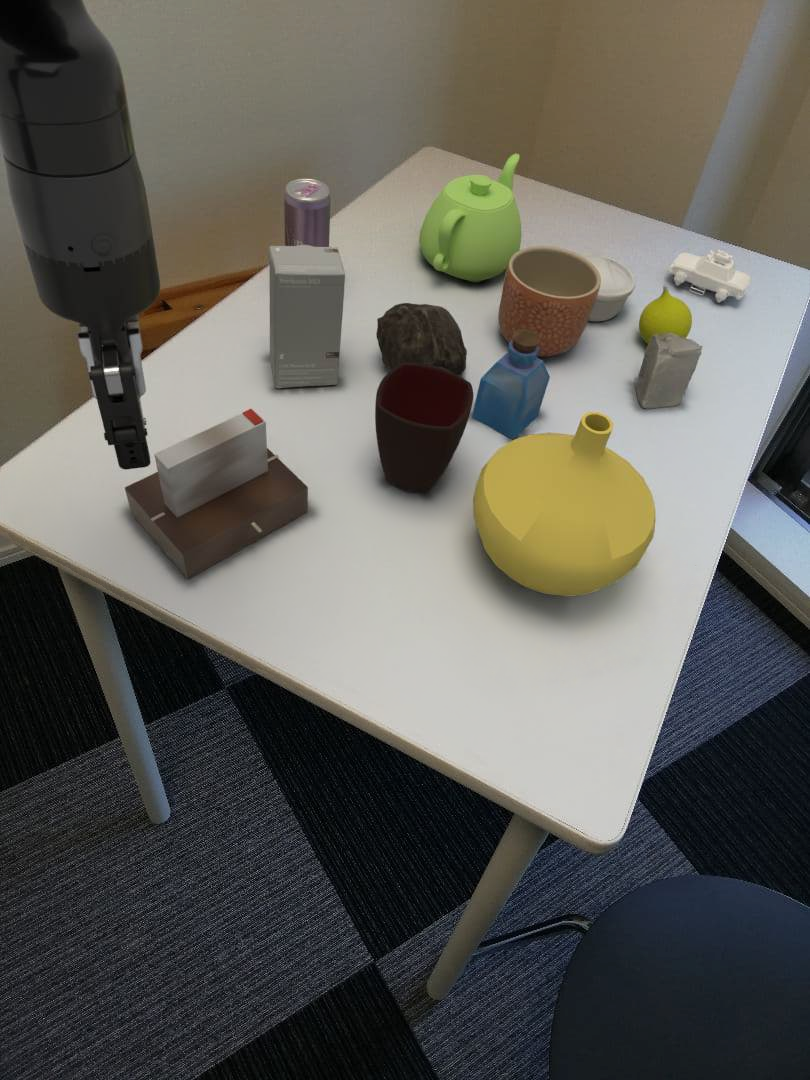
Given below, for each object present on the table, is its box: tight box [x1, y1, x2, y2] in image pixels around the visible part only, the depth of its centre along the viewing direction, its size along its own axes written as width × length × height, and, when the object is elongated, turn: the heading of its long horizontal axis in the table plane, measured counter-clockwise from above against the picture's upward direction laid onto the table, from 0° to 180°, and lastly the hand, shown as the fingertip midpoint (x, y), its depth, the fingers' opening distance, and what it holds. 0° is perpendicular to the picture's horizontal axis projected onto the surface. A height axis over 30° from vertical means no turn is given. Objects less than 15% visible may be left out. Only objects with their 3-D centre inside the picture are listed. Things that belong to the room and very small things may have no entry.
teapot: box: [418, 153, 522, 284], centre depth 115 cm, size 22×15×13 cm
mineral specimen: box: [634, 333, 703, 410], centre depth 101 cm, size 7×9×8 cm
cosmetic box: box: [268, 245, 346, 389], centre depth 93 cm, size 8×7×16 cm
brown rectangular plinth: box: [124, 447, 309, 580], centre depth 81 cm, size 15×15×4 cm
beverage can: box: [283, 178, 332, 247], centre depth 104 cm, size 6×6×15 cm
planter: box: [498, 245, 601, 358], centre depth 104 cm, size 12×12×11 cm
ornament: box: [638, 280, 693, 345], centre depth 107 cm, size 7×7×10 cm
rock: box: [376, 302, 468, 376], centre depth 98 cm, size 10×11×10 cm
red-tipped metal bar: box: [154, 408, 268, 518], centre depth 77 cm, size 11×2×7 cm, turn 132°
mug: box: [374, 363, 474, 494], centre depth 86 cm, size 10×14×12 cm
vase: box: [472, 411, 656, 597], centre depth 76 cm, size 18×18×19 cm
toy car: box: [667, 249, 751, 304], centre depth 119 cm, size 6×12×7 cm, turn 60°
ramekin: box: [577, 252, 636, 323], centre depth 113 cm, size 11×11×5 cm
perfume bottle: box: [471, 329, 551, 441], centre depth 93 cm, size 6×6×12 cm
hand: (131, 427), depth 59 cm, fingers open, 8 cm apart
